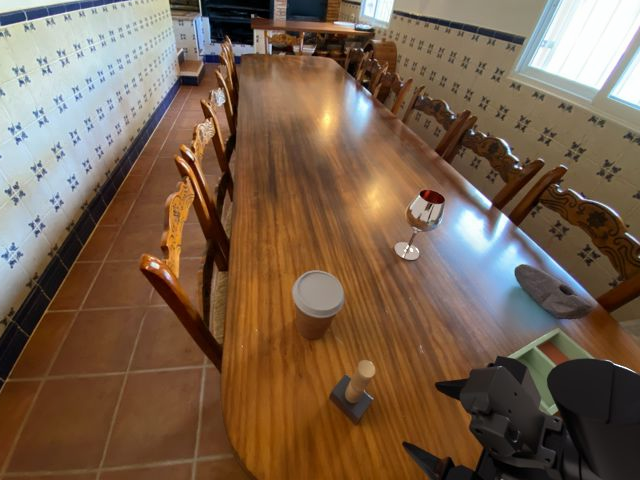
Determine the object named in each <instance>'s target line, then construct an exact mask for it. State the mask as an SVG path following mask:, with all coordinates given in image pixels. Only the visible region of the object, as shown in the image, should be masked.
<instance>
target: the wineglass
mask: <svg viewBox="0 0 640 480" xmlns="http://www.w3.org/2000/svg"><path fill="white" fill-rule="evenodd" d="M446 200H447V199H446V198H445V196H444V195H443V194H442V193H441V192H439V191H436V190H433V189H429V188H428V189H427V188H426V189H425V188H424V189H421V190H420V191H418V193H417V194H416V195H415V196H414V198H413V199H412V200H410V202H409V204H408V205H407V206H406V208H405V211H404V217H405V220H406V222H407V224H408V225H409V227H410V228H411V229H412V230H413V231H412V232H413V233H412V235H411V237H410V240H409V241H408V242H405V241H400V242H397V243H396V244H395V245H394V247H393V248H394V252H395V254H396V255H397V256H399V257H400V258H401V259H404V260H406V261H415V260H417V259H418V258H419V257H420V251H419V249H418V248H417V247H416V246H415V245H414V244H413V242H414V240H415V238H416V236H417V234H418V233H426V232H431V231H433V230H434V231H435V229H437V228H438V227H439V226H440V225H441V223H442V221H443V219H444V214H445V208H446V202H447V201H446Z"/></svg>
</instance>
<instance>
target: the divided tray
mask: <svg viewBox="0 0 640 480" xmlns="http://www.w3.org/2000/svg"><path fill="white" fill-rule="evenodd" d="M507 357H508V358H514V359H517V360H518V361H520V362H521V363H523V364H524V365H525V366H527V367H528V370H529V372H530V374H531V376H532V378H533V381H534V383H535V385H536V387H537V389H538V392H539V394H540V396H541V402H540V406H539V410H541V411H543V412H544V413H546V414H548V415H552V416H555V414H556V413H558V412H559V411H558V409H557V407H556V404H555V402H554V400H553V398H552V396H551V393H550V391H549V389H548V387H547V377H548V374H549V373H550V371H551V370H552V369H553V368H554V367H556V366H557V365H558V364H561V363H563V362H565V361H569V360H574V359H583V358H592V359H596V358H595V357H594V356H592V355H591V354H590V353H589V352H588V351H586V350H585V349H584V348H583V347H582V346H580V345H579V344H578V343H577V342H576V341H575V340H574V339H572V338H571V337H570V336H569V335H567V334H566V333H565V332H563V330H561V329H560V328H559V327H556V328H553V329H552V330H551V331H549V332H547V333H546V334H544V335H542V336H541V337H539V338H537V339H535V340H534V341H532V342H530V343H529V344H527V345H525V346H523V347H522V348H520V349H519V350H517V351H515V352H513V353H512V354H510V355H509V356H507Z"/></svg>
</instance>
